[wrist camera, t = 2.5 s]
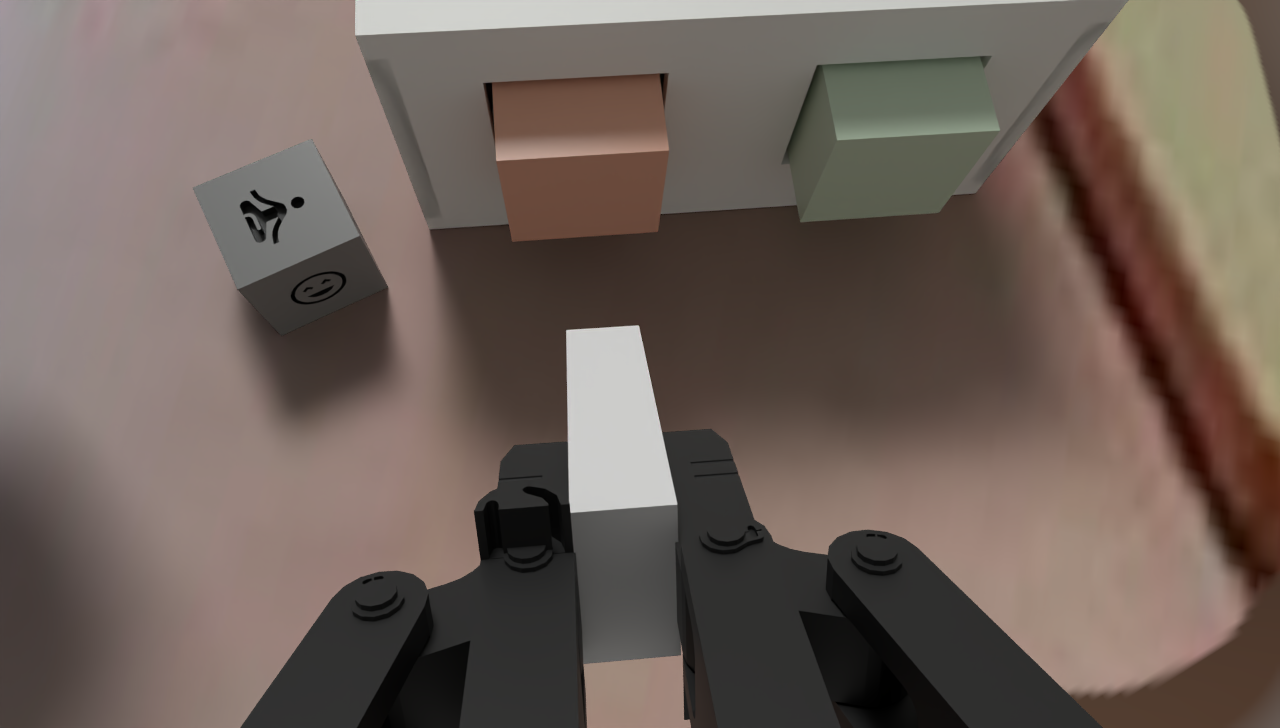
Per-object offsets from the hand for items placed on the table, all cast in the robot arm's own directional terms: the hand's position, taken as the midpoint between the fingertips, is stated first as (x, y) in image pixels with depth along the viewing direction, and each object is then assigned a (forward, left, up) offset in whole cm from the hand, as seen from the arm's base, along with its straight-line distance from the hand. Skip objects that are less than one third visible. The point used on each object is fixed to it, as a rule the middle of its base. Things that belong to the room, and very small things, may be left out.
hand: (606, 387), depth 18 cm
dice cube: (-12, +13, -19) cm, 26 cm away
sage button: (+12, +15, -15) cm, 24 cm away
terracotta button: (0, +15, -15) cm, 21 cm away
